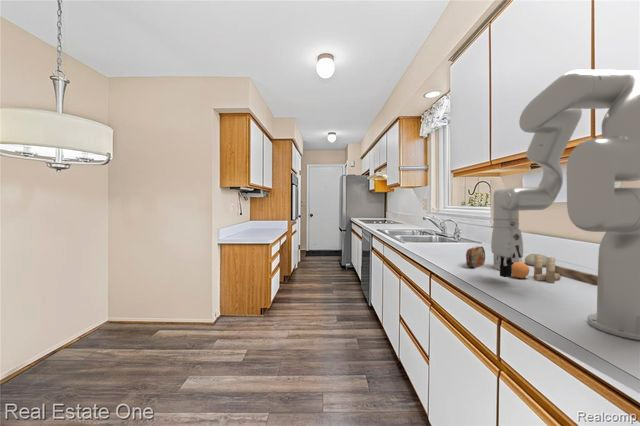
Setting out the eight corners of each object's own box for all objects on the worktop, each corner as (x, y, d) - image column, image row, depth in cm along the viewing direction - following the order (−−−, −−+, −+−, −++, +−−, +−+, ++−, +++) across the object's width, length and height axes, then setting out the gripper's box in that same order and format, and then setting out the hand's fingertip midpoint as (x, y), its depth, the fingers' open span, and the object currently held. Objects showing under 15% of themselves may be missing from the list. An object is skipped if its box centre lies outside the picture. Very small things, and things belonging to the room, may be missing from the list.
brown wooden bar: (606, 286, 96) (606, 277, 96) (601, 286, 96) (602, 277, 96) (551, 271, 116) (551, 264, 116) (548, 272, 116) (548, 264, 116)
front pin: (539, 281, 103) (560, 280, 105) (539, 275, 103) (560, 274, 104) (533, 279, 106) (554, 278, 107) (533, 273, 106) (554, 272, 107)
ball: (519, 255, 109) (519, 264, 105) (533, 266, 108) (534, 275, 104) (506, 264, 113) (505, 272, 108) (519, 274, 112) (519, 284, 108)
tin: (472, 269, 122) (472, 249, 122) (464, 268, 125) (464, 248, 124) (485, 264, 132) (486, 245, 132) (478, 263, 134) (478, 244, 134)
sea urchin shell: (540, 258, 134) (548, 248, 128) (548, 273, 128) (557, 263, 123) (518, 258, 135) (526, 248, 129) (526, 273, 129) (534, 263, 123)
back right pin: (556, 282, 101) (557, 258, 101) (550, 283, 101) (550, 259, 101) (550, 281, 104) (550, 257, 103) (544, 281, 104) (544, 257, 103)
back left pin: (543, 279, 106) (544, 255, 106) (537, 279, 106) (538, 256, 106) (538, 277, 109) (538, 254, 108) (532, 277, 109) (532, 254, 108)
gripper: (533, 225, 95) (533, 281, 96) (500, 223, 110) (500, 271, 111) (512, 226, 94) (512, 282, 95) (481, 223, 109) (481, 272, 110)
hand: (505, 276), depth 103 cm, fingers closed
